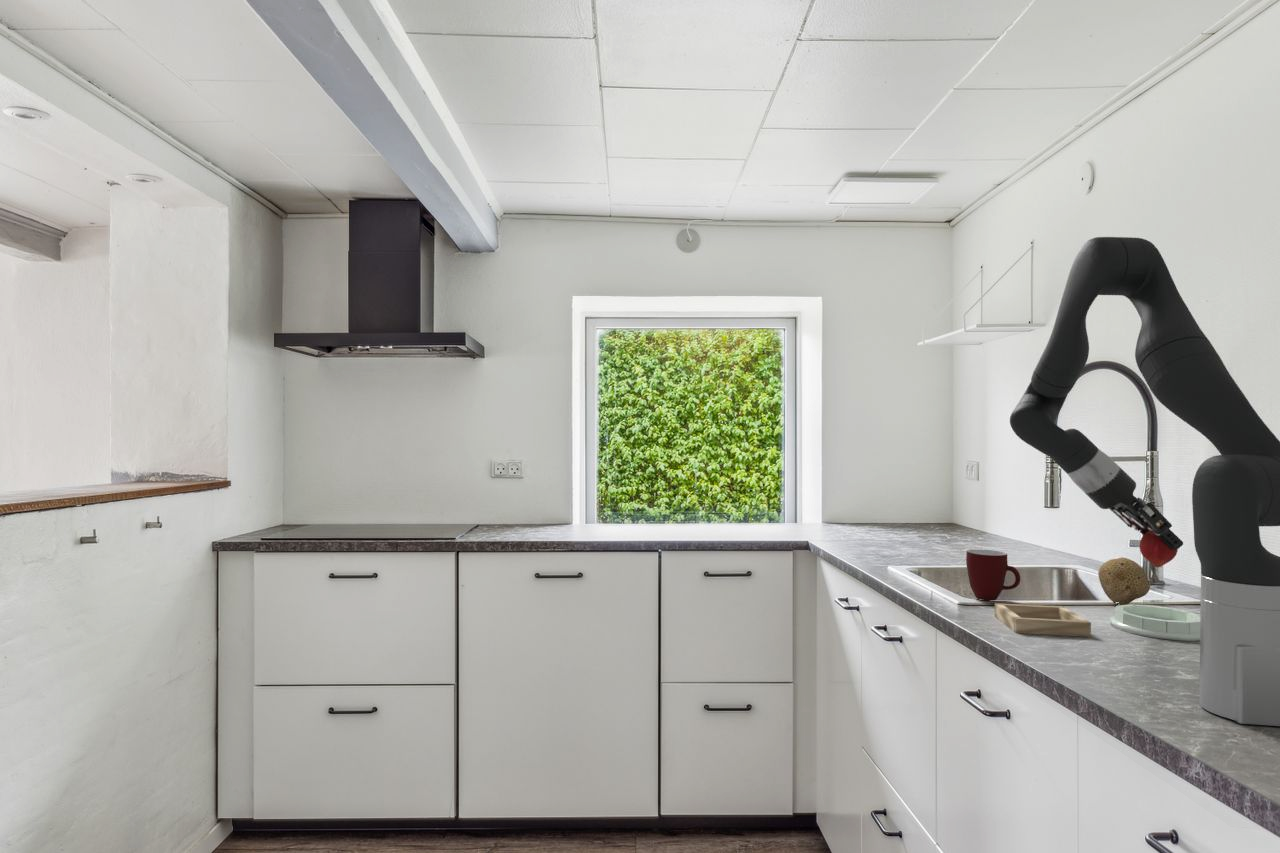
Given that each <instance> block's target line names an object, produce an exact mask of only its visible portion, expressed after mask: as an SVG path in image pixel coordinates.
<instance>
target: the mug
mask: <svg viewBox="0 0 1280 853" xmlns="http://www.w3.org/2000/svg"><path fill="white" fill-rule="evenodd" d="M965 560H966V561H965V562H966V569H967V576H968V581H969V587H970V589H971V591H972V592H973V595H974V597H975V598H976V599H978V600H981V601H988V602H990V601H991V602H992V601H997V599H998V597H999V596H1000V594H1001V592H1002V591H1003V590H1004V591H1005V590H1006V591H1007V590H1014V589H1015V588H1017V587H1018V586H1019V585H1020V583H1021V574H1020V572H1019V570H1017V568H1015V567H1014V566H1012V565H1008V562H1009V561H1008V554H1007V553H1006V552H1003V551H999V550H992V549H991V550H990V549H968V550H966V558H965ZM1007 571H1008V572H1012V573H1013V575H1014V582H1013V584H1011V585H1005V580H1006V575H1007Z"/></svg>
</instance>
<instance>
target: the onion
mask: <svg viewBox="0 0 1280 853" xmlns="http://www.w3.org/2000/svg"><path fill="white" fill-rule="evenodd" d="M1156 525H1157V527H1159V526H1160V524H1159V523H1156ZM1178 550H1179V549H1177V550H1176V551H1174V550H1171V549H1170V548H1169V547H1168V546H1167V545H1166V544H1165V543H1164V542H1163V541H1162V540H1161V539H1160V538H1159V537H1158V536H1156V535H1155V534H1154V533H1153V532H1151V531H1148V532H1147V533H1146V534H1145V535H1143V536H1142V537H1141V538H1140V542H1139V551H1140V554H1141V555H1142V556H1143V557H1144V559H1145V560H1146V561H1147V562H1148V563H1150V564H1152V565H1153V567H1155V568H1161V567H1163V566H1165V565H1166V564H1168V563H1170V562H1171V561H1172V560H1174V558H1175V557H1176V556H1177V553H1178Z"/></svg>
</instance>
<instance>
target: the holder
mask: <svg viewBox="0 0 1280 853" xmlns="http://www.w3.org/2000/svg"><path fill="white" fill-rule="evenodd" d="M994 618H997V619H998V620H999V621H1000V622H1002V623H1003V624H1004V625H1006V626H1007V627H1008V628H1009V629H1010V630H1012V631H1013V632H1014V633H1017V634H1031V635H1032V634H1033V635H1051V636H1052V635H1053V636H1054V635H1055V636H1071V637H1087V638H1088V637H1089V638H1090V637H1091V636H1092V622H1091V621H1089V620H1088V619H1085V618H1084V617H1082V616H1080V615H1079V614H1077V613H1075V612H1073V611H1071V610H1070V609H1069V608H1066V607H1065V606H1060V605H1059V606H1058V605H1043V604H1042V605H1041V604H1040V605H1038V604H1021V603H1020V604H1019V603H999V602H997V603H994Z"/></svg>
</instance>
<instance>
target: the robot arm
mask: <svg viewBox="0 0 1280 853" xmlns="http://www.w3.org/2000/svg"><path fill="white" fill-rule="evenodd" d="M1098 296H1122V297H1125V298H1126V299H1128V300H1129V301H1130V302H1131V304H1132V305H1133V307H1134V308H1135V310H1136V311H1137V313H1138V316H1139V317H1140V320H1141V325H1140V326H1141V327H1140V330H1139V333H1138V337H1137V339H1136V346H1135V351H1134V356H1135V357H1134V358H1135V362H1136V366H1137V367H1138V370H1139V372H1140V373H1141V375H1142V377H1143V378H1144V380H1145V382H1146V384H1147V386H1148V387H1149V390H1150V391H1151V393H1152V394H1153V395H1154V397H1155V398H1156V400H1158V402H1159V403H1160V404H1161V405H1163V406H1164V407H1165V408H1166V410H1169V411H1170V412H1171V413H1172V414H1174V415H1175V416H1177V417H1178V418H1179V419H1180V420H1182V421H1183V422H1184V423H1186V424H1188V425H1189V426H1190V427H1192V428H1193V429H1194V430H1196V431H1197V432H1198V433H1200V434H1201V435H1202V436H1204V437H1205V438H1206V439H1207V440H1208V441H1210V443H1212V445H1213V446H1214V447H1215V448H1216V450H1217V451H1218V453H1220V454H1219V455H1214V456H1210V457H1209V458H1206V459H1205V460H1204V461H1203V462H1202V463H1200V465H1199V466H1198V468H1197V470H1196V472H1195V474H1194V478H1193V482H1192V490H1191V492H1192V493H1191V495H1192V496H1191V502H1192V503H1191V504H1192V505H1191V506H1192V519H1193V522H1192V523H1193V540H1194V542H1193V543H1194V549H1195V552H1196V555H1197V558H1198V560H1199V563H1200V613H1199V614H1200V640H1199V705H1200V706H1201V707H1202V709H1204V710H1206V711H1208V712H1210V713H1212V714H1214V715H1217V716H1220V717H1223V718H1227V719H1230V720H1233V721H1234V722H1236V723H1239V724H1243V725H1255V726H1257V725H1258V726H1275V727H1280V556H1278V555H1276V554H1274V553H1271V552H1270V551H1269V550H1267V549H1266V548H1265V547H1264V546H1263V544H1262V540H1261V535H1260V533H1261V532H1260V527H1280V440H1279V439H1278V437H1277V436H1276V435H1275V433H1273V431H1272V430H1271V429H1270V428H1269V427H1268V426H1267V425H1266V423H1265V422H1264V421H1263V419H1262V418H1261V417H1260V415H1259V414H1258V412H1256V410H1255V409H1254V407H1253V406H1252V405H1251V403H1250V402H1249V400H1248V398H1247V396H1245V394H1244V392H1243V391H1242V390H1241V388H1240V387H1239V385H1238V384H1237V382H1236V381H1235V379H1234V378H1233V377H1232V375H1231V373H1230V372H1229V370H1228V369H1227V367H1226V366H1225V363H1224V361H1223V360H1222V358H1221V357H1220V355H1219V353H1218V352H1217V350H1216V349H1215V347H1214V346H1213V344H1212V342H1211V341H1210V340H1209V339H1208V337H1207V336H1206V335H1205V333H1204V332H1203V330H1202V328H1201V327H1200V326H1199V324H1198V323H1197V321H1196V319H1195V317H1194V316H1193V314H1192V313H1191V311H1190V309H1189V307H1188V306H1187V304H1186V303H1185V301H1184V299H1183V298H1182V295H1181V293H1180V292H1179V290H1178V287H1177V286H1176V284H1175V281H1174V280H1173V277H1172V275H1171V273H1170V270H1169V268H1168V266H1167V263H1166V262H1165V260H1164V258H1163V256H1162V254H1161V252H1160V251H1159V249H1158V248H1157V247H1156V246H1155V245H1154V243H1153V242H1151V241H1149V240H1147V239H1144V238H1140V237H1133V236H1132V237H1130V236H1129V237H1125V236H1124V237H1123V236H1120V237H1119V236H1118V237H1117V236H1098V237H1093V238H1090V239H1088V240H1087V241H1085V242H1084V244H1083V245H1081V247H1080V248H1079V250H1078V251H1077V253H1076V255H1075V258H1074V260H1073V262H1072V264H1071V268H1070V269H1069V272H1068V276H1067V279H1066V283H1065V286H1064V290H1063V293H1062V296H1061V299H1060V303H1059V307H1058V310H1057V313H1056V317H1055V321H1054V325H1053V327H1052V331H1051V334H1050V336H1049V339H1048V340H1047V344H1046V346H1045V348H1044V349H1043V351H1042V354H1041V356H1040V358H1039V360H1038V361H1037V364H1036V366H1035V368H1034V370H1033V372H1032V375H1031V378H1030V383H1029V385H1028V386H1027V388H1026V390H1025V391H1024V393H1023V394H1022V397H1021V398H1020V400H1019V401H1018V403H1017V404H1016V405H1015V407H1014V409H1013V410H1012V412H1011V414H1010V417H1009V424H1010V427H1011V429H1012V431H1013V433H1014V434H1015V435H1016V436H1017V437H1018V438H1019V439H1020V440H1022V442H1024V443H1026V444H1027V445H1028V446H1030V447H1032V448H1034V449H1035V450H1037V451H1038V452H1039V453H1042V454H1044V455H1046V456H1047V457H1049V458H1050V459H1051V460H1052V461H1054V462H1055V464H1056V465H1057V466H1059V467H1060V468H1061V469H1062V470H1063V471H1064V473H1066V474H1067V476H1068V477H1069V478H1070V479H1071V480H1072V482H1073V483H1074V484H1075V485H1076V486H1077V487H1078V488H1079V489H1080V490H1081V491H1082V492H1083V493H1084V494H1085V495H1086V496H1087V497H1088V498H1089V499H1090V500H1091V501H1092V502H1093V503H1095V505H1097V507H1098V508H1100V509H1102V510H1108V509H1109V510H1110V511H1111V512H1112V513H1113V514H1114V515H1116V517H1118V519H1120V520H1121V521H1122V522H1123V523H1124V524H1126V526H1127V527H1128V528H1131V529H1132V528H1133V529H1134V530H1135V531H1137V532H1139V533H1141V535H1143V536H1144V535H1145V534H1146V533H1147V532H1148V531H1151V532H1153V533H1154V534H1155V535H1156V536H1158V537H1159V538H1160V539H1161V540H1162V541H1163V542H1164V543H1165V544H1166V545H1167V546H1168V547H1169V548H1170V549H1171V550H1174V551H1176V550H1177V549H1178V550H1179V549H1180V548H1181V547H1182V546H1183V545H1184V541H1182V539H1180V537H1179V536H1177V535H1176V534H1175V533H1174V532H1173V531H1172V530H1171V528H1172V527H1173V525H1172V523H1171V522H1169V520H1168V519H1167V518H1166V517H1165V516H1164V515H1163V514H1162V513H1161V512H1160V511H1159V510H1158V508H1156V506H1154V505H1153V503H1151V502H1150V501H1147V502H1146V501H1144V499H1143V498H1140V497H1136V496H1134V491H1135V490H1136V488H1137V482H1136V481H1135V480H1134V479H1133V478H1132V477H1131V476H1130V475H1129V474H1128V473H1127V472H1125V471H1124V470H1123V468H1122V467H1121V466H1119V464H1117V463H1116V462H1115V461H1114V460H1113V459H1112V458H1111V457H1110V455H1109V456H1108V455H1107V453H1105V452H1104V451H1102V450H1101V449H1100V448H1098V447H1097V446H1096V444H1094V443H1093V441H1092V440H1090V439H1089V438H1088V437H1087V436H1086V435H1085V434H1084V433H1083V432H1081V431H1080V430H1079V429H1076V428H1068V429H1066V430H1064V429H1063V428H1061V427H1060V426H1058V425H1057V424H1056V423H1055V421H1056V419H1057V418H1058V415H1059V414H1060V411H1061V410H1062V408H1063V406H1064V403H1065V402H1066V399H1067V397H1068V394H1070V392H1071V391H1072V389H1073V388H1074V386H1075V384H1076V383H1077V381H1078V379H1079V377H1080V375H1081V374H1082V372H1083V370H1084V368H1085V366H1086V365H1087V362H1088V359H1089V355H1090V354H1089V353H1090V342H1089V337H1088V332H1087V315H1088V311H1089V310H1090V308H1091V306H1092V304H1093V303H1094V301H1095V300H1096V298H1097V297H1098ZM1156 524H1160V526H1159V527H1157V525H1156Z"/></svg>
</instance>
